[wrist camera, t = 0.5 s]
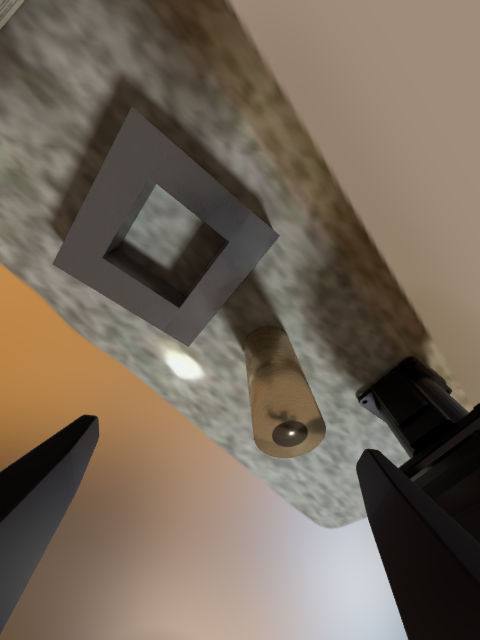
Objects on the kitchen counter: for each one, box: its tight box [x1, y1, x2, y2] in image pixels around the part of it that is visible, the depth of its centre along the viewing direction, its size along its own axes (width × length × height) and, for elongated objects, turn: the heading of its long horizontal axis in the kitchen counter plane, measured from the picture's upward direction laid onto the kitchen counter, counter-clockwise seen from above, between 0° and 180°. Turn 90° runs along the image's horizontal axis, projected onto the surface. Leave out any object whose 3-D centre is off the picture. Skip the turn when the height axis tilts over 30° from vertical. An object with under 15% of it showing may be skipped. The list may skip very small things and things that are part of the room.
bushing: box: [244, 327, 326, 458], centre depth 19 cm, size 4×4×9 cm
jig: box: [53, 107, 280, 347], centre depth 17 cm, size 10×10×2 cm
